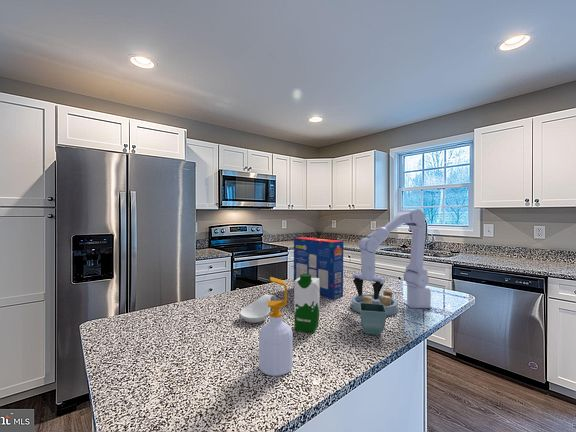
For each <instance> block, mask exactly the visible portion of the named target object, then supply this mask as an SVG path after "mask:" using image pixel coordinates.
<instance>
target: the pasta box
mask: <svg viewBox="0 0 576 432" xmlns="http://www.w3.org/2000/svg"><path fill="white" fill-rule="evenodd" d="M301 274H310V275H311V278H319V287H320V290H319V294H320V296H319V297H322V298H326V299H329V300H337V299H340V298H343V297H344V240H337V239H327V238H318V237H317V238H316V237H306V236H303V237H301V236H300V237H293V282H294V281H295V280H296V279H297V278H299V277H300V275H301Z"/></svg>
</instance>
